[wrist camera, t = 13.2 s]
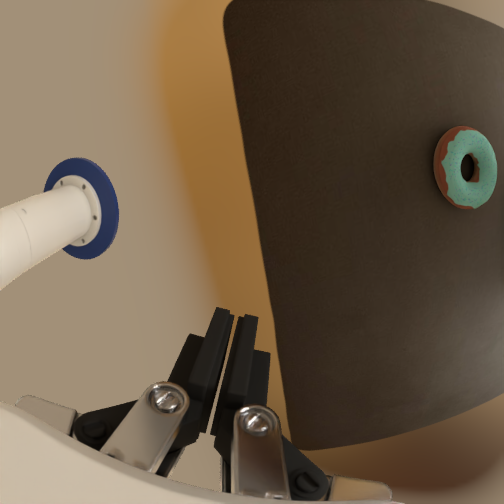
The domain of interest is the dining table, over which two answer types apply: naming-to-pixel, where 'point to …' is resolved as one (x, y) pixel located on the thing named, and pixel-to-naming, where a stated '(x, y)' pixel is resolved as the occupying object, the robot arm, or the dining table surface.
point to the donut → (449, 172)
